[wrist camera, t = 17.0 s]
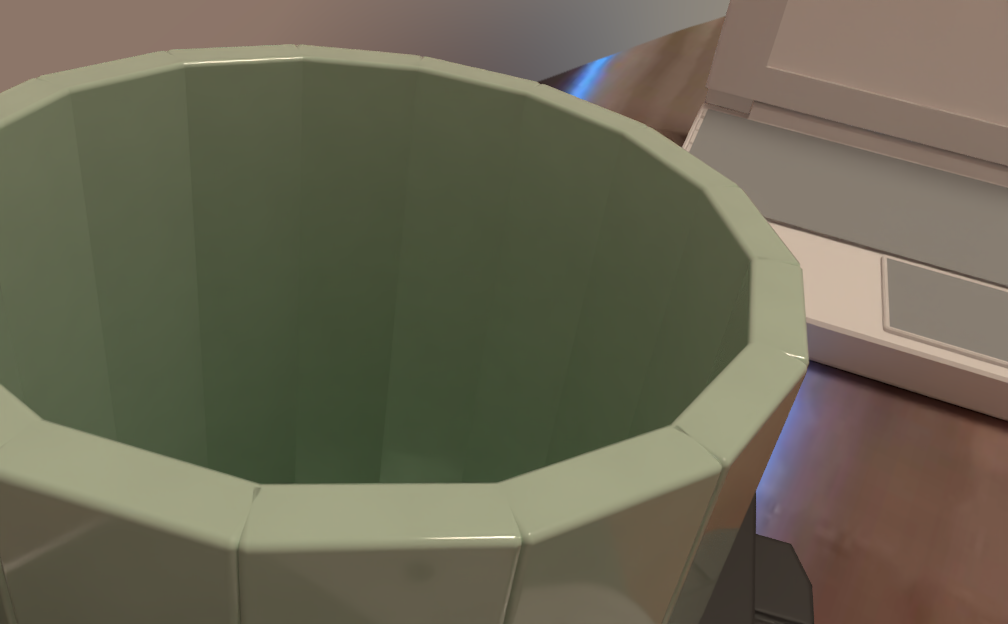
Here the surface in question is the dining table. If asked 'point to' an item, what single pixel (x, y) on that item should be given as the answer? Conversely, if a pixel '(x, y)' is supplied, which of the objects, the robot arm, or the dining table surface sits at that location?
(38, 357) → the pen cup
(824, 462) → the dining table surface
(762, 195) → the laptop
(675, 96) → the dining table surface
